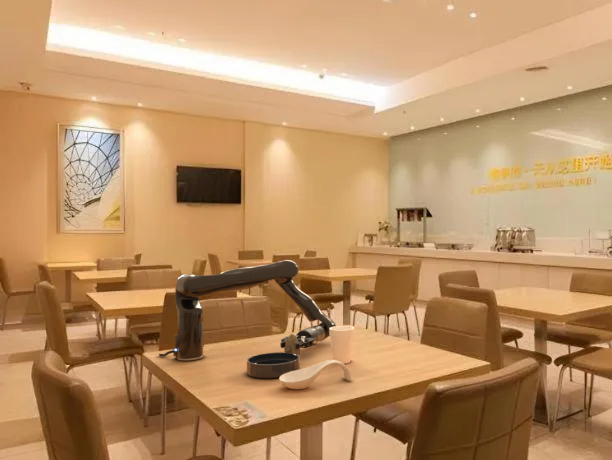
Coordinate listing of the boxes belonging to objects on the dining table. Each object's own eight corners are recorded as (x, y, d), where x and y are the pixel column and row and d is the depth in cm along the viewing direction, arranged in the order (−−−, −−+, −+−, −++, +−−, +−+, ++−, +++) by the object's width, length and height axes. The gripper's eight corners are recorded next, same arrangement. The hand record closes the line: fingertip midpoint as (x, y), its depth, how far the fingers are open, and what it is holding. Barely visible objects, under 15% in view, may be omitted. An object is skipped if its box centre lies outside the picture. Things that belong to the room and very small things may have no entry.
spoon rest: (284, 394, 164) (284, 371, 164) (274, 385, 174) (274, 363, 174) (355, 383, 176) (355, 362, 176) (342, 375, 186) (342, 354, 186)
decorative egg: (299, 361, 205) (299, 335, 205) (283, 362, 204) (283, 336, 204) (300, 357, 211) (300, 332, 211) (285, 358, 210) (285, 333, 210)
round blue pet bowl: (236, 377, 183) (236, 363, 183) (263, 364, 201) (264, 351, 201) (284, 381, 179) (284, 366, 179) (308, 367, 196) (308, 354, 196)
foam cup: (324, 361, 205) (324, 328, 204) (343, 357, 211) (343, 325, 211) (340, 366, 198) (340, 331, 198) (358, 361, 205) (358, 328, 205)
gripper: (292, 327, 223) (272, 335, 207) (324, 329, 220) (306, 337, 203) (292, 345, 223) (272, 354, 207) (324, 347, 220) (306, 356, 203)
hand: (289, 345), depth 205 cm, fingers closed on decorative egg, 6 cm apart
